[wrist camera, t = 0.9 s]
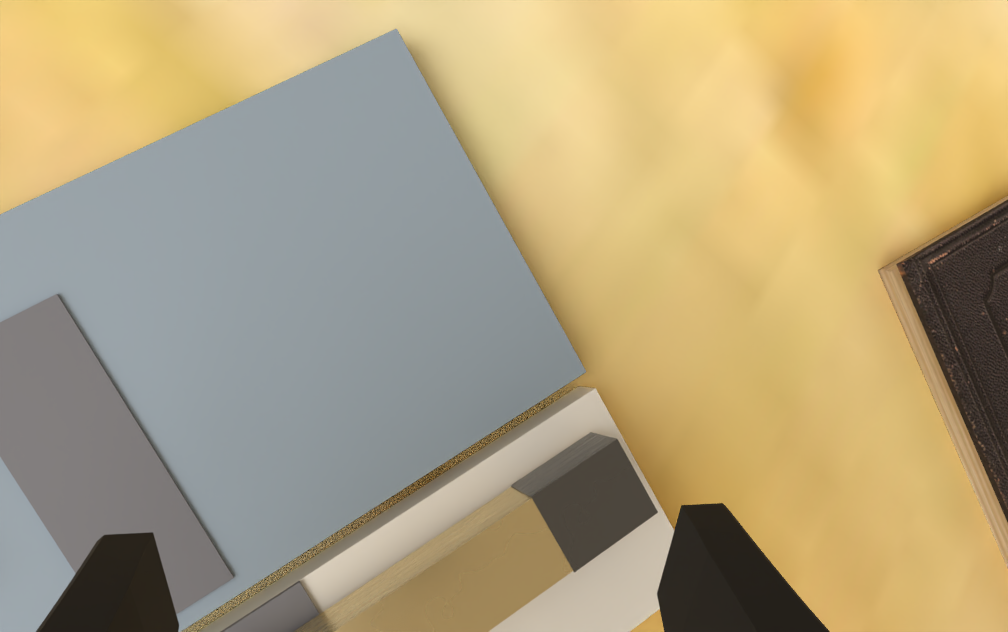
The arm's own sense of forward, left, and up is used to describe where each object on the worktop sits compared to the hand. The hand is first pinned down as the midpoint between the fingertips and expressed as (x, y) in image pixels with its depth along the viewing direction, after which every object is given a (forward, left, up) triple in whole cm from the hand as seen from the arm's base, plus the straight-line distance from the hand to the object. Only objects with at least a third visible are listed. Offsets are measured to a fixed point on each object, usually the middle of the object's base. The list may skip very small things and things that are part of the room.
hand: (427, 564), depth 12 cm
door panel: (+4, +3, -14) cm, 15 cm away
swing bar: (-5, 0, -12) cm, 13 cm away
